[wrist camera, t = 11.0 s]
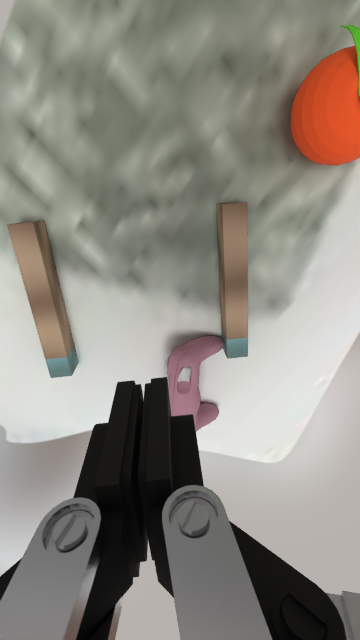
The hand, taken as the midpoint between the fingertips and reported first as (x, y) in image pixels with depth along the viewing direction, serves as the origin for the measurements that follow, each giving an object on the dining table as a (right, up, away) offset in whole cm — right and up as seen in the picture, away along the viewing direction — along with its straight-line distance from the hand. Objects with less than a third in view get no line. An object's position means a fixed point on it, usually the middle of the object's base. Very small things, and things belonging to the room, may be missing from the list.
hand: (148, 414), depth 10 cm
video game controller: (+2, -3, +23) cm, 23 cm away
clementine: (+12, +20, +14) cm, 27 cm away
